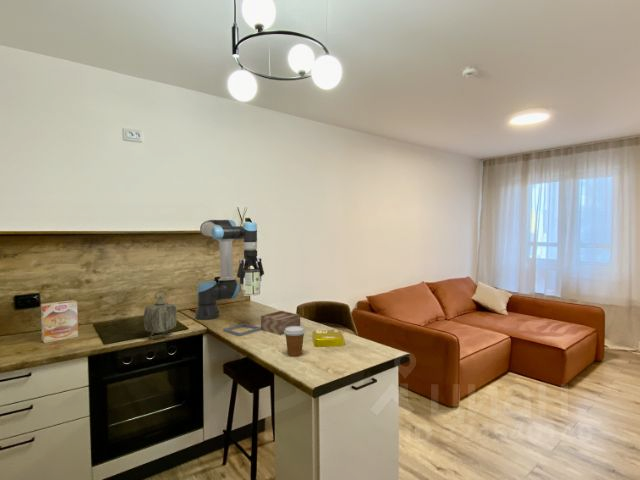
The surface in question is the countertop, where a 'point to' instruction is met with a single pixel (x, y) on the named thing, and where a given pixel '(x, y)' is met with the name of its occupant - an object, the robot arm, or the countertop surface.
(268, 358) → the countertop surface
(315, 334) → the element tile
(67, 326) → the coffeecake box
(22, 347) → the countertop surface
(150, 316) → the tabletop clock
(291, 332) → the disposable coffee cup
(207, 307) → the robot arm
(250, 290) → the coffee can
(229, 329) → the gray square frame
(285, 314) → the block
